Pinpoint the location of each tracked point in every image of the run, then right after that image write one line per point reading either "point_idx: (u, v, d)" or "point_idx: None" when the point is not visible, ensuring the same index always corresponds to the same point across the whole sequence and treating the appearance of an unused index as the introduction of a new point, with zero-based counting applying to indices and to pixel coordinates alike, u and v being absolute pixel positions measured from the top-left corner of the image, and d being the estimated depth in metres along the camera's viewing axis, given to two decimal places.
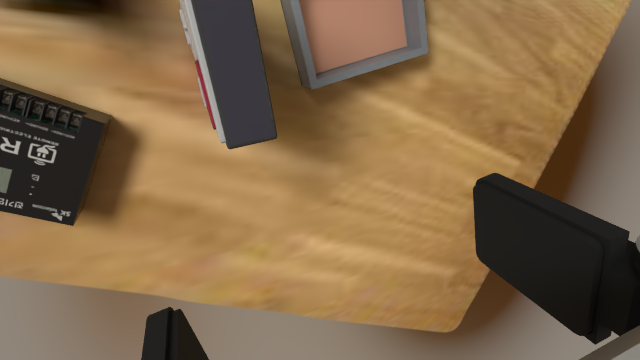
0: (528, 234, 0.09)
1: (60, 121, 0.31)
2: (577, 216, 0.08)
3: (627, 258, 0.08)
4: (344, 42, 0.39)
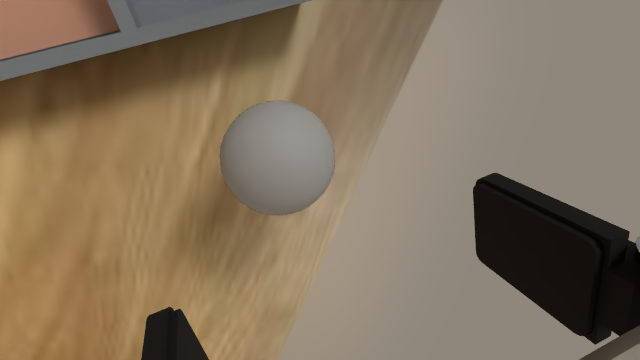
0: (528, 234, 0.09)
1: None
2: (577, 216, 0.08)
3: (627, 258, 0.08)
4: None
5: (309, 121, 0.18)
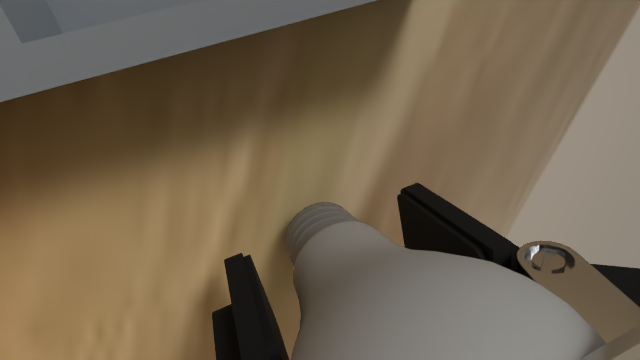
0: (437, 242, 0.10)
1: None
2: (472, 226, 0.09)
3: (514, 266, 0.08)
4: None
5: None
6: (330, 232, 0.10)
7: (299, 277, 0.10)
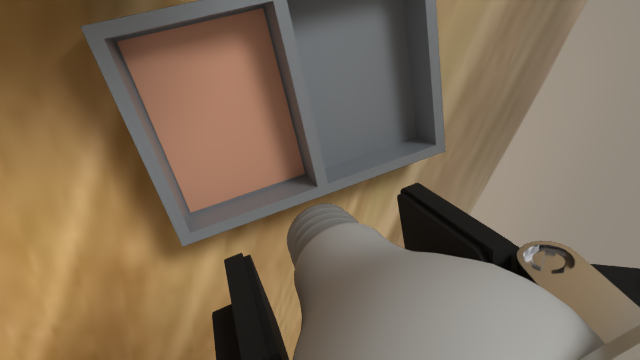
0: (437, 242, 0.10)
1: None
2: (472, 226, 0.09)
3: (514, 266, 0.08)
4: (184, 105, 0.24)
5: None
6: (331, 234, 0.10)
7: (300, 278, 0.10)
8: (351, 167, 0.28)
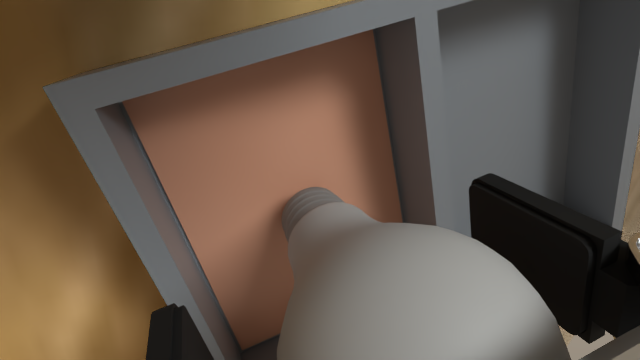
0: (523, 234, 0.09)
1: None
2: (571, 216, 0.08)
3: (620, 258, 0.08)
4: (236, 195, 0.14)
5: (538, 311, 0.06)
6: (320, 211, 0.11)
7: (293, 249, 0.11)
8: None
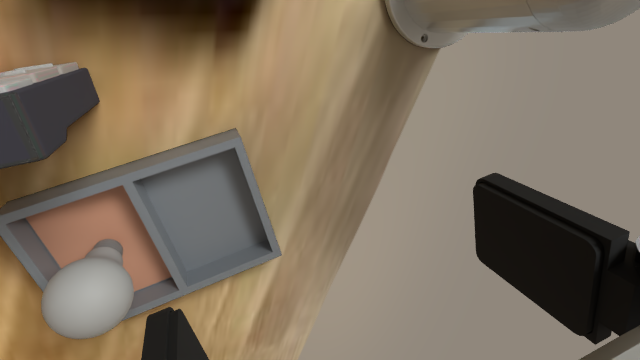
0: (528, 234, 0.09)
1: None
2: (577, 216, 0.08)
3: (627, 258, 0.08)
4: (75, 243, 0.34)
5: (99, 280, 0.27)
6: (92, 250, 0.32)
7: None
8: (209, 270, 0.38)
